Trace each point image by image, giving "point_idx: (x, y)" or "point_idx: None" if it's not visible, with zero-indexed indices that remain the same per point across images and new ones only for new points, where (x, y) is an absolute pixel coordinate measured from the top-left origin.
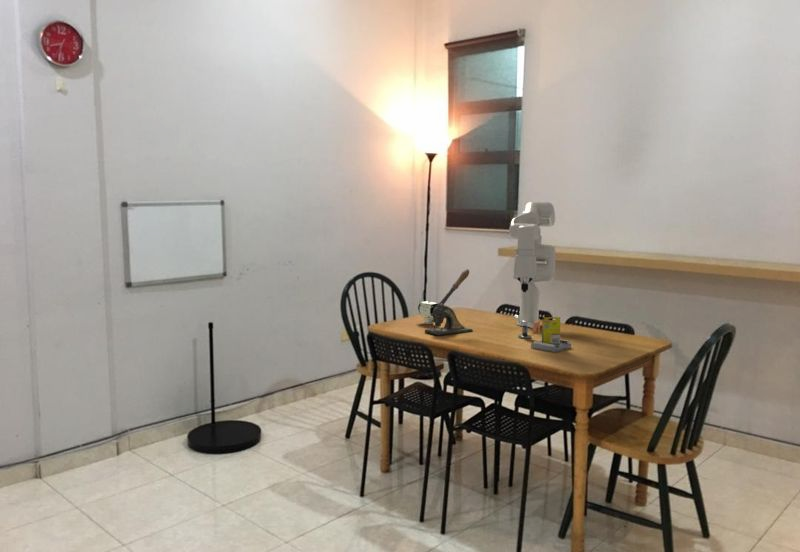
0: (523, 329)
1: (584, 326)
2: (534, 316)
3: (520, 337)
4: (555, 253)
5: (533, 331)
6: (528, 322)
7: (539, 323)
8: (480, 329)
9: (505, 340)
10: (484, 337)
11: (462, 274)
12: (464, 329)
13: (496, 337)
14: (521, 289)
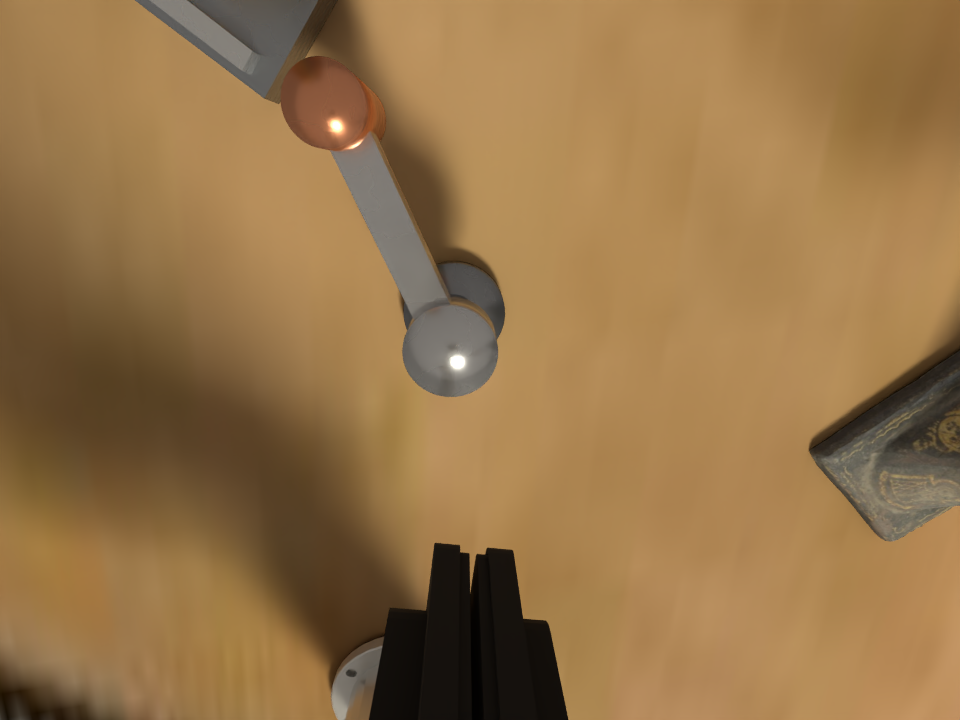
0: None
1: (71, 705)
2: (366, 718)
3: (489, 276)
4: None
5: (378, 101)
6: (420, 309)
7: (292, 74)
8: (740, 519)
9: (616, 168)
10: (766, 257)
11: None
12: (893, 422)
13: (672, 274)
14: (542, 622)
